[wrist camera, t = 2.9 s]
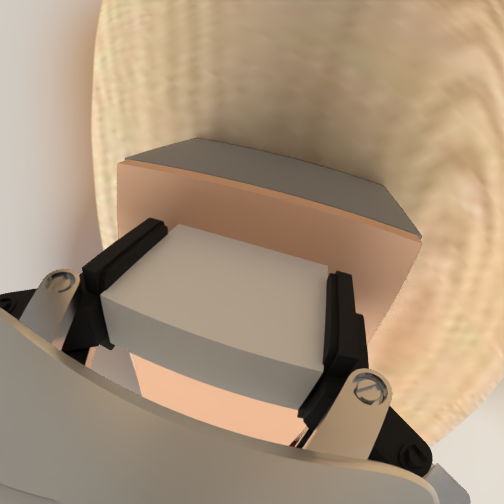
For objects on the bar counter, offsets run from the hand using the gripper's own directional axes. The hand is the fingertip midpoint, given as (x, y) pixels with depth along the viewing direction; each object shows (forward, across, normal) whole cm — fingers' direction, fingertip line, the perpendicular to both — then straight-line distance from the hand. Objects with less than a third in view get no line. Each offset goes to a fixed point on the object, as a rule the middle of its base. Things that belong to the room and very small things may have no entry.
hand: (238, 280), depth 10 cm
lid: (+2, 0, +8) cm, 8 cm away
